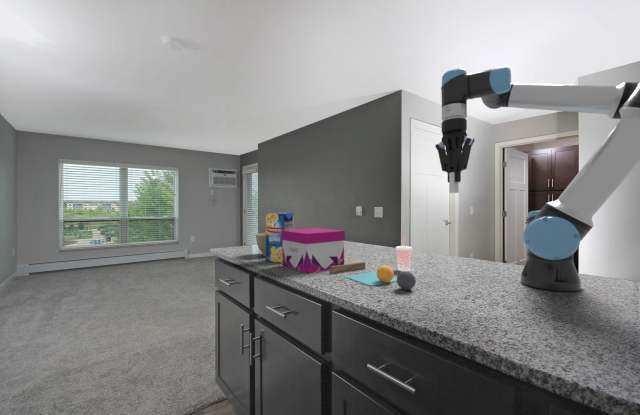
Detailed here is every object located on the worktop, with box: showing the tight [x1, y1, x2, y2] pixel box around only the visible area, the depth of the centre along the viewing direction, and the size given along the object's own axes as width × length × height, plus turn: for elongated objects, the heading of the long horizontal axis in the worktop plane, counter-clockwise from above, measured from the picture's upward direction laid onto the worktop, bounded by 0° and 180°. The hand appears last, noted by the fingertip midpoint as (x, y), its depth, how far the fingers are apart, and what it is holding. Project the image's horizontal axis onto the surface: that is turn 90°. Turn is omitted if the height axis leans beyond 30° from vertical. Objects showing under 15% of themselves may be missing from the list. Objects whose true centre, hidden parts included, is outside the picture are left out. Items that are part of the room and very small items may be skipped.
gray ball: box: [396, 271, 416, 291], centre depth 92 cm, size 6×6×6 cm
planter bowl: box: [255, 232, 266, 257], centre depth 156 cm, size 16×16×11 cm
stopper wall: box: [329, 261, 366, 275], centre depth 118 cm, size 1×16×2 cm, turn 121°
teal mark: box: [345, 271, 397, 287], centre depth 106 cm, size 14×14×1 cm
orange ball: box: [376, 265, 395, 284], centre depth 101 cm, size 6×6×6 cm
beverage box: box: [265, 212, 295, 264], centre depth 139 cm, size 7×11×22 cm, turn 57°
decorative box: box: [281, 227, 346, 274], centre depth 127 cm, size 19×19×15 cm
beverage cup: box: [395, 233, 413, 272], centre depth 119 cm, size 6×6×14 cm
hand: (454, 192), depth 100 cm, fingers closed
